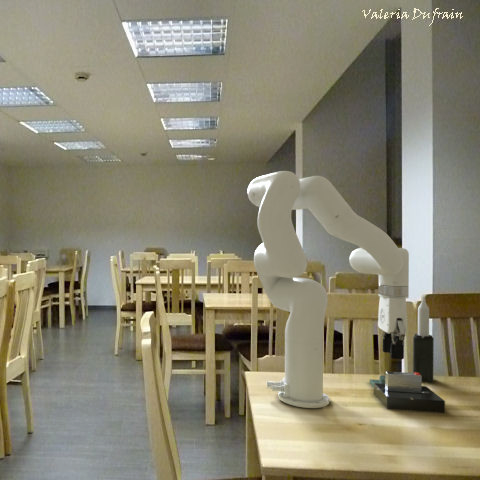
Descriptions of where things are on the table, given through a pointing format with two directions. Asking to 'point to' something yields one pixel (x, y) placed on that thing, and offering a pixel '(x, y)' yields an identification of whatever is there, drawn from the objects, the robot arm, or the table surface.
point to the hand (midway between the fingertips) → (392, 354)
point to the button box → (381, 380)
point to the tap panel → (410, 400)
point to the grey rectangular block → (403, 382)
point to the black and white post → (423, 345)
